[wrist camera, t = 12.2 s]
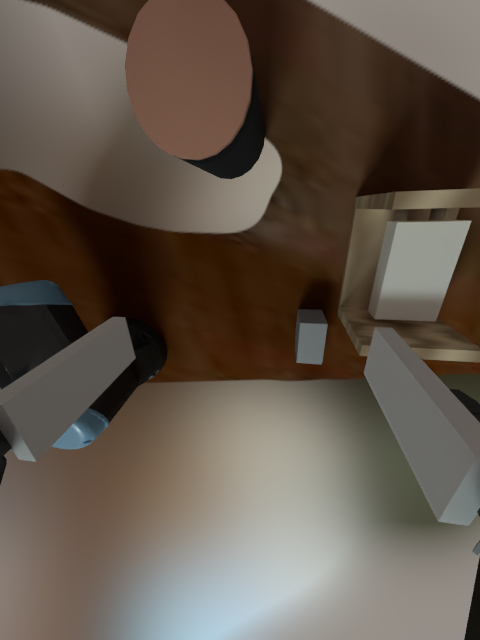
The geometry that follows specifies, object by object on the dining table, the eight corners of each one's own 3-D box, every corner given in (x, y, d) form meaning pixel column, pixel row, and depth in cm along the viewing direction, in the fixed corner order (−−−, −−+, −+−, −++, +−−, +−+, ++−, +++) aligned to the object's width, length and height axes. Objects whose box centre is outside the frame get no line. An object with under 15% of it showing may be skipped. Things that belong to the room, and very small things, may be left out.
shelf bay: (337, 313, 44) (359, 355, 32) (355, 196, 36) (395, 191, 23) (420, 315, 42) (479, 362, 29) (460, 193, 34) (565, 185, 21)
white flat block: (367, 311, 37) (374, 319, 34) (387, 221, 32) (397, 222, 29) (424, 312, 36) (435, 321, 33) (454, 219, 30) (471, 220, 28)
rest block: (294, 345, 48) (296, 362, 43) (297, 309, 45) (300, 323, 40) (317, 346, 48) (321, 364, 42) (321, 309, 44) (327, 324, 39)
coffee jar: (264, 84, 32) (248, -39, 16) (266, 176, 36) (256, 152, 20) (189, 97, 34) (107, -2, 18) (200, 183, 38) (142, 166, 22)
